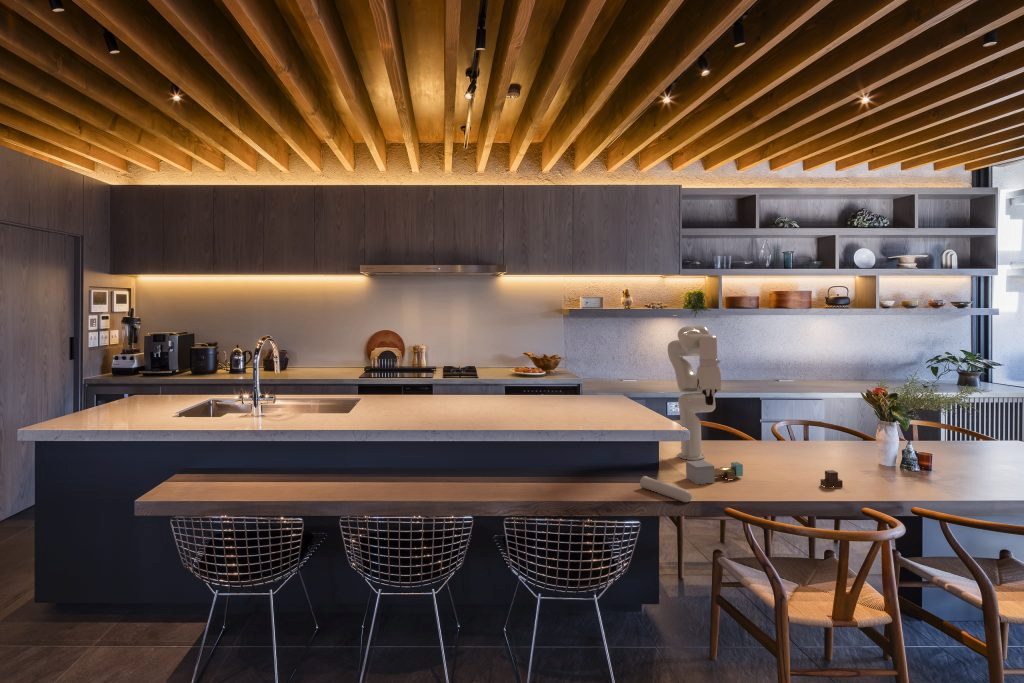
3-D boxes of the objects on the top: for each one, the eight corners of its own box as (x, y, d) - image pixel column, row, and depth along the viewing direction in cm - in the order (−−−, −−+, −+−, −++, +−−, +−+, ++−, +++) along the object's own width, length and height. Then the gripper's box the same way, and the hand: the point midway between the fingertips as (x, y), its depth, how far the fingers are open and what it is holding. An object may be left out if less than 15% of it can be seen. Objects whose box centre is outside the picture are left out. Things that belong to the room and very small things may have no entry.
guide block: (720, 476, 266) (719, 467, 266) (726, 475, 267) (726, 466, 266) (728, 480, 259) (728, 471, 259) (735, 480, 259) (734, 471, 259)
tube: (695, 491, 235) (650, 476, 256) (686, 489, 232) (641, 474, 253) (693, 505, 234) (647, 489, 256) (683, 503, 231) (638, 487, 253)
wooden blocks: (825, 495, 237) (825, 478, 236) (806, 484, 252) (805, 468, 251) (863, 494, 237) (863, 476, 237) (841, 482, 252) (841, 466, 252)
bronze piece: (697, 476, 263) (697, 465, 263) (737, 473, 266) (737, 462, 266) (702, 479, 259) (702, 468, 258) (742, 476, 262) (742, 464, 261)
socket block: (686, 478, 265) (685, 461, 265) (703, 476, 266) (703, 459, 266) (696, 484, 255) (696, 467, 255) (714, 483, 257) (714, 465, 256)
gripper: (720, 361, 272) (721, 402, 273) (688, 363, 270) (689, 404, 271) (728, 363, 265) (729, 405, 266) (696, 365, 263) (697, 407, 264)
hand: (709, 404), depth 268 cm, fingers closed
